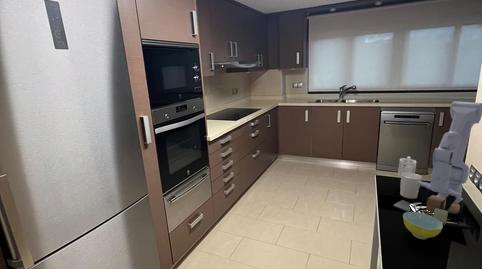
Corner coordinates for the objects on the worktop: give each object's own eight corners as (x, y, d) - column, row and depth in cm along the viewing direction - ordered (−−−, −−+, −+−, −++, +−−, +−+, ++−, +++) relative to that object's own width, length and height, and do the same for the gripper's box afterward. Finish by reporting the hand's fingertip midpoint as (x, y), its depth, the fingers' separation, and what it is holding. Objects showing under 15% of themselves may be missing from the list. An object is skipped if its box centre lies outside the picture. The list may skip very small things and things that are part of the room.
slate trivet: (402, 200, 117) (402, 199, 117) (422, 208, 110) (422, 207, 110) (393, 205, 112) (393, 204, 112) (413, 213, 106) (413, 212, 106)
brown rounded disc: (443, 205, 113) (445, 199, 112) (461, 211, 108) (462, 204, 107) (438, 209, 110) (439, 202, 109) (455, 215, 105) (456, 208, 104)
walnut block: (430, 208, 111) (432, 195, 109) (442, 212, 107) (445, 199, 106) (425, 211, 108) (427, 197, 107) (438, 215, 105) (440, 202, 103)
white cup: (400, 197, 120) (403, 177, 117) (397, 190, 127) (400, 171, 125) (420, 200, 117) (423, 180, 115) (416, 193, 124) (419, 173, 122)
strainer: (413, 185, 132) (417, 157, 129) (411, 190, 127) (416, 161, 123) (397, 182, 136) (401, 155, 133) (395, 186, 131) (399, 158, 128)
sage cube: (433, 216, 104) (435, 207, 103) (446, 220, 101) (448, 211, 100) (432, 221, 101) (434, 211, 100) (445, 224, 98) (447, 215, 97)
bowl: (434, 230, 95) (437, 215, 93) (443, 249, 84) (447, 232, 83) (399, 223, 99) (401, 208, 98) (403, 240, 89) (405, 224, 88)
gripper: (415, 173, 108) (411, 203, 111) (459, 185, 96) (452, 218, 99) (423, 170, 112) (418, 199, 115) (466, 181, 100) (459, 213, 103)
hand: (434, 208), depth 107 cm, fingers open, 7 cm apart
